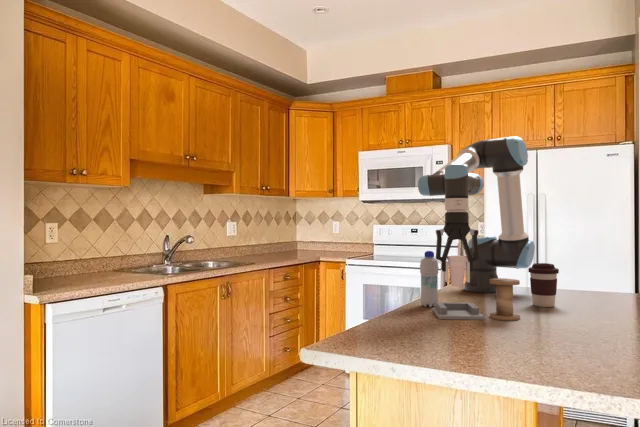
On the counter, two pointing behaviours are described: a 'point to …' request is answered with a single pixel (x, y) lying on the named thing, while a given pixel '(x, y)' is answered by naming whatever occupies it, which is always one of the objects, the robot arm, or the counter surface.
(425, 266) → the bottle
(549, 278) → the coffee cup
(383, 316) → the counter surface
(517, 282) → the bobbin
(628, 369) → the counter surface
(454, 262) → the smoothie
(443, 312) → the notch board
